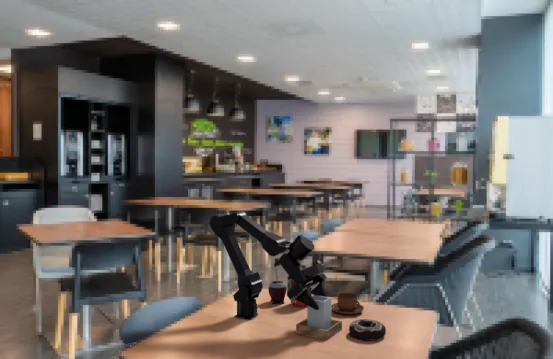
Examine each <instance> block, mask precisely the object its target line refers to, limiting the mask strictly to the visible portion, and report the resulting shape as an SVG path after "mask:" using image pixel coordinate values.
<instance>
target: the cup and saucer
mask: <svg viewBox="0 0 553 359" xmlns="http://www.w3.org/2000/svg"><path fill="white" fill-rule="evenodd" d="M331 310H332V311H334V312H335V313H336V314H337V313H338V314H341V315H357V314H360V313H361V312H363V311H364V306H363V305H361V303H360V301H359V300H358V295H357V294H355V293H351V292H350V293H349V292H341V293H338V294H337V302H335V303H333V304H331Z"/></svg>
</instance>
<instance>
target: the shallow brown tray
mask: <svg viewBox="0 0 553 359" xmlns="http://www.w3.org/2000/svg"><path fill="white" fill-rule="evenodd" d="M342 330H343V321H342V320H339V319H333V318H331V327H330V328H329V329H327V330H324V329H319V328H314V327H309V326H307V318H305V319H303V320H301V321H300V322H298V323H296V324H295V333H296V334H299V335H302V336H305V337H306V336H307V337H310V338H315V339H321V340H325V341H328V340H330V339H331V338H332V337H334V336H336V334H338V333H339V332H341V331H342Z"/></svg>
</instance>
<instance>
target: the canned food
mask: <svg viewBox="0 0 553 359" xmlns="http://www.w3.org/2000/svg"><path fill="white" fill-rule="evenodd" d="M294 284H295V283H294V282H293V281H292V279H290V288H291V287H292V286H293V285H294ZM311 291H312V289H310V294H311V295H312V293H311ZM296 297H297V296H295V298H296ZM295 298H294V299H295ZM294 299H292V300H290V305H291V306H293V307H295V308H307V305H306V304H304V303H301V302H299V301H297V300H296V301H295V300H294Z"/></svg>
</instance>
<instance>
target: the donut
mask: <svg viewBox="0 0 553 359" xmlns="http://www.w3.org/2000/svg"><path fill="white" fill-rule="evenodd" d="M348 331H349V333H350V334H351V335H352V337H354V338H356V339H359V340H362V341H363V340H364V341H377V340H380V339H382V338H384V336H385V335H386V333H387V329H386V326H385V325H384V324H383V323H382V322H380V321H378V320H374V319H371V318H370V319H368V318H362V319H356V320H353V321H352V322H351V323H349V327H348Z"/></svg>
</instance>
